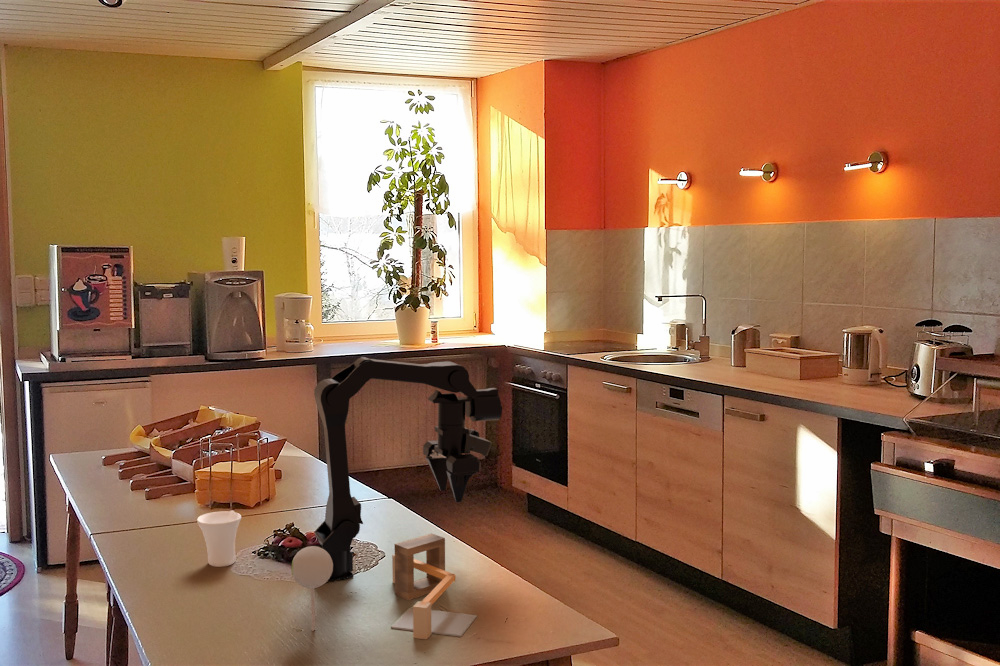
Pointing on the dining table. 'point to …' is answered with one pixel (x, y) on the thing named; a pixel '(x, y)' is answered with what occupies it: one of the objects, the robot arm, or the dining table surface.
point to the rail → (427, 598)
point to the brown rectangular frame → (405, 565)
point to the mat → (439, 622)
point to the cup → (220, 536)
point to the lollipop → (312, 571)
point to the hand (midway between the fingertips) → (450, 496)
